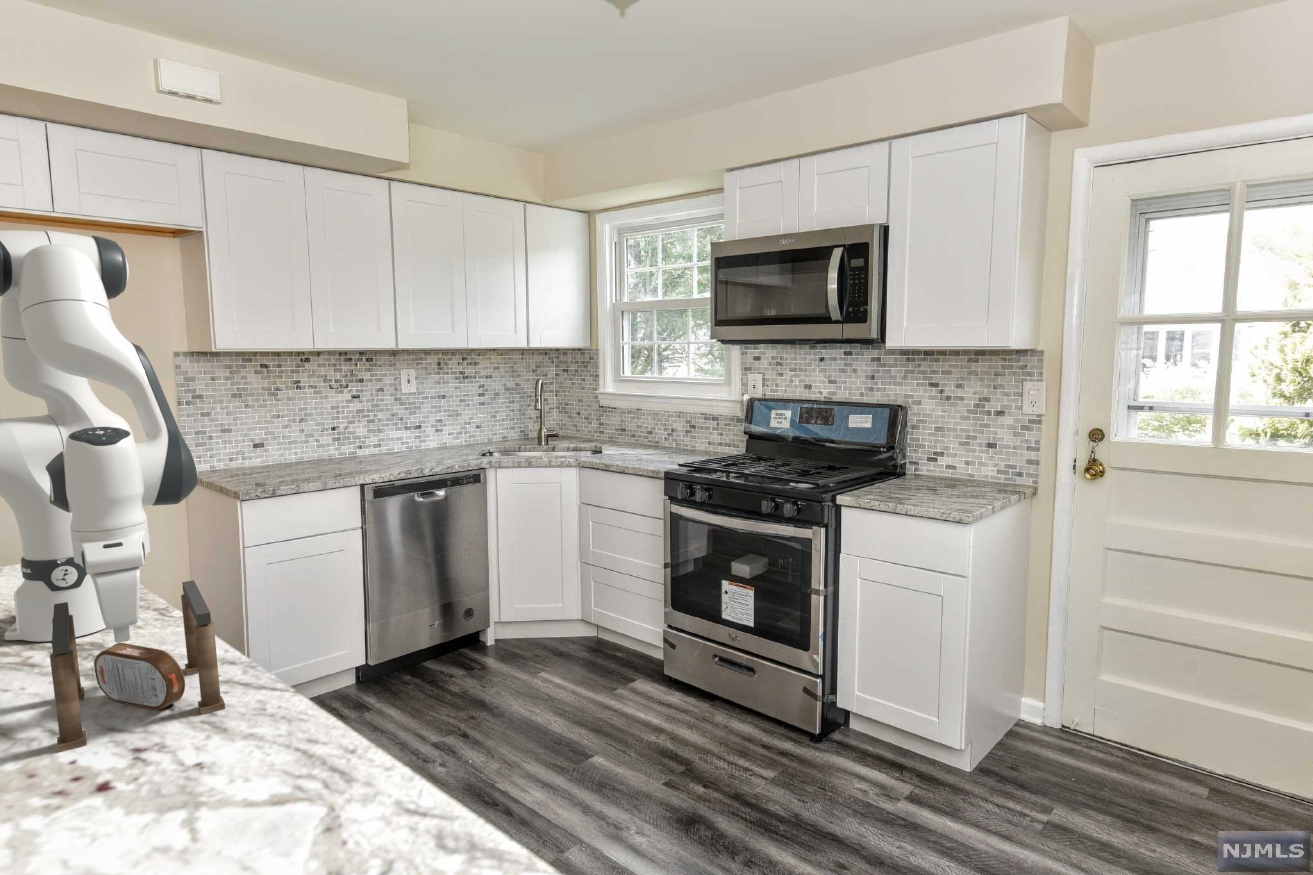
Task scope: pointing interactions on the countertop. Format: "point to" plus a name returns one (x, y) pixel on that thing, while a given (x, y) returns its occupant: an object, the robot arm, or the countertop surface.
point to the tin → (139, 676)
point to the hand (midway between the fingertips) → (122, 638)
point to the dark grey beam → (196, 603)
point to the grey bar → (60, 629)
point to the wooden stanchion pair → (71, 692)
